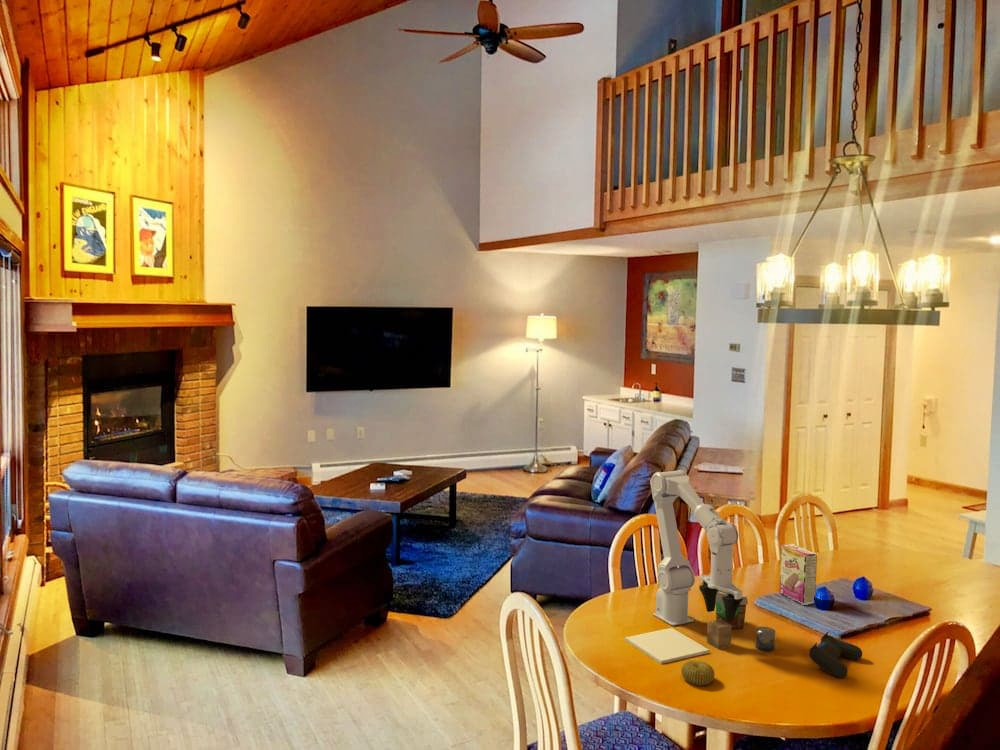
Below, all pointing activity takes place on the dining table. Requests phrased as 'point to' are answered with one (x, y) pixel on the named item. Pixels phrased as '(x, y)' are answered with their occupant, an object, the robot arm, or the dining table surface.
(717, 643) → the walnut block
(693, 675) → the olive ribbed round piece
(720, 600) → the food container
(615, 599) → the dining table surface
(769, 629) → the charcoal metal cylinder
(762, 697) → the dining table surface
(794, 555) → the candy bar box
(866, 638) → the dining table surface
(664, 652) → the cream mat
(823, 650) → the gaming controller
